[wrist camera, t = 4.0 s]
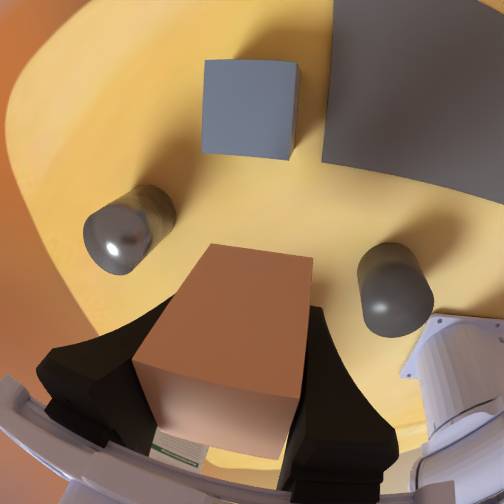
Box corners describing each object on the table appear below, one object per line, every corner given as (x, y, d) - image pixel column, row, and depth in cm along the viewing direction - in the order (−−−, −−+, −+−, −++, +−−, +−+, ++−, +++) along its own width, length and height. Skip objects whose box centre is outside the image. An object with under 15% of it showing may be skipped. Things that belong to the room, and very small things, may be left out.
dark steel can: (174, 186, 20) (132, 215, 16) (177, 241, 22) (142, 280, 18) (124, 183, 21) (78, 209, 16) (130, 234, 23) (90, 268, 18)
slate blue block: (300, 71, 15) (296, 62, 12) (294, 148, 18) (288, 160, 14) (227, 67, 16) (204, 59, 12) (224, 142, 18) (201, 152, 15)
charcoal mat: (519, 27, 8) (522, 26, 8) (502, 202, 15) (505, 205, 15) (334, -39, 11) (334, -42, 10) (321, 160, 17) (321, 162, 17)
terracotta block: (312, 258, 13) (299, 398, 6) (298, 334, 15) (277, 460, 9) (211, 243, 13) (131, 359, 7) (213, 319, 15) (160, 431, 9)
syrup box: (183, 353, 29) (122, 474, 16) (233, 380, 29) (190, 504, 17) (168, 376, 32) (116, 479, 19) (212, 399, 32) (172, 505, 20)
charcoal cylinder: (424, 247, 18) (444, 283, 15) (405, 299, 21) (418, 340, 17) (365, 237, 19) (375, 273, 15) (350, 292, 21) (354, 334, 18)
